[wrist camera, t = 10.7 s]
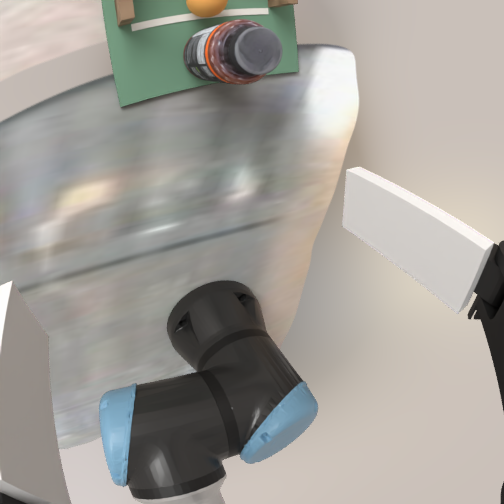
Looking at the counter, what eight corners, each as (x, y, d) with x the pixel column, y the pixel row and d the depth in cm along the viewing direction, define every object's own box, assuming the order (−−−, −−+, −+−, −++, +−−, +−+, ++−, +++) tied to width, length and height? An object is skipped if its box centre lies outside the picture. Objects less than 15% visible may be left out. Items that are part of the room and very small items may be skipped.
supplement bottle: (243, 40, 28) (305, 36, 20) (222, 87, 30) (278, 99, 22) (194, 20, 25) (242, 2, 16) (172, 70, 27) (210, 71, 19)
